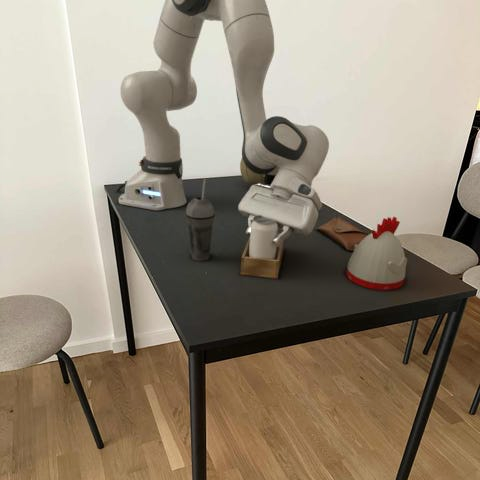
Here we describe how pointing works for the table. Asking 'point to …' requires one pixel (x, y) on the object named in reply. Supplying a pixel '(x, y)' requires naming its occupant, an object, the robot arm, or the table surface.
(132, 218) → the table surface
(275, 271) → the organizer
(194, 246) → the beverage cup
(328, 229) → the sunglasses case
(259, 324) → the table surface
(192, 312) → the table surface
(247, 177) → the cantaloupe
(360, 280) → the kitchen timer
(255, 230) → the can
